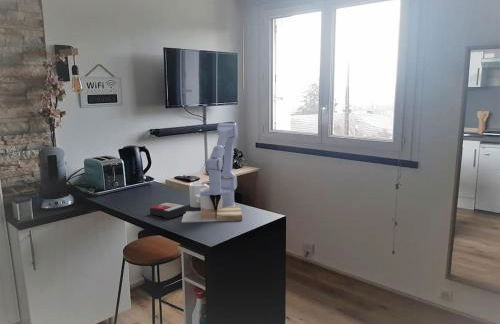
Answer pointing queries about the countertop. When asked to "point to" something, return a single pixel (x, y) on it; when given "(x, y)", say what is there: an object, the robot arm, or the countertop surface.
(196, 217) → the mat
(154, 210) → the red and grey box
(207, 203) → the bracket
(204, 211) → the tile
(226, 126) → the robot arm
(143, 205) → the countertop surface
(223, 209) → the board
